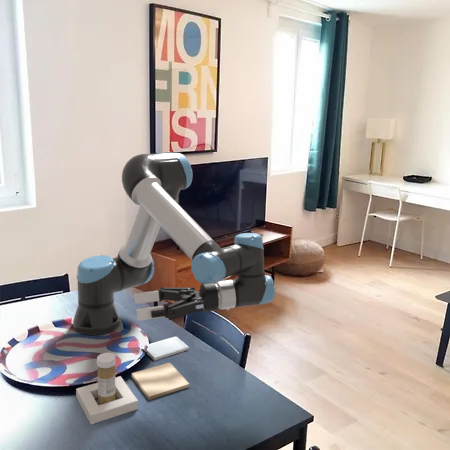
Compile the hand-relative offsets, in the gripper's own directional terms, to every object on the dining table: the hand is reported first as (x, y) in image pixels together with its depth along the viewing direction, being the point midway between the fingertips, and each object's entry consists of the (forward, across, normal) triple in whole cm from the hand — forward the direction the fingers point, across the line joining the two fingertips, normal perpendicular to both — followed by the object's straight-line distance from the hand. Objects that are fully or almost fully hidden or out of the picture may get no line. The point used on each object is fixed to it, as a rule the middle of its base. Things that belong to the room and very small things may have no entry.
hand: (135, 306), depth 118 cm
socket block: (+10, -1, -24) cm, 26 cm away
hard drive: (-8, +24, -23) cm, 34 cm away
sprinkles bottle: (+10, -1, -24) cm, 26 cm away
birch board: (-5, +6, -25) cm, 26 cm away
